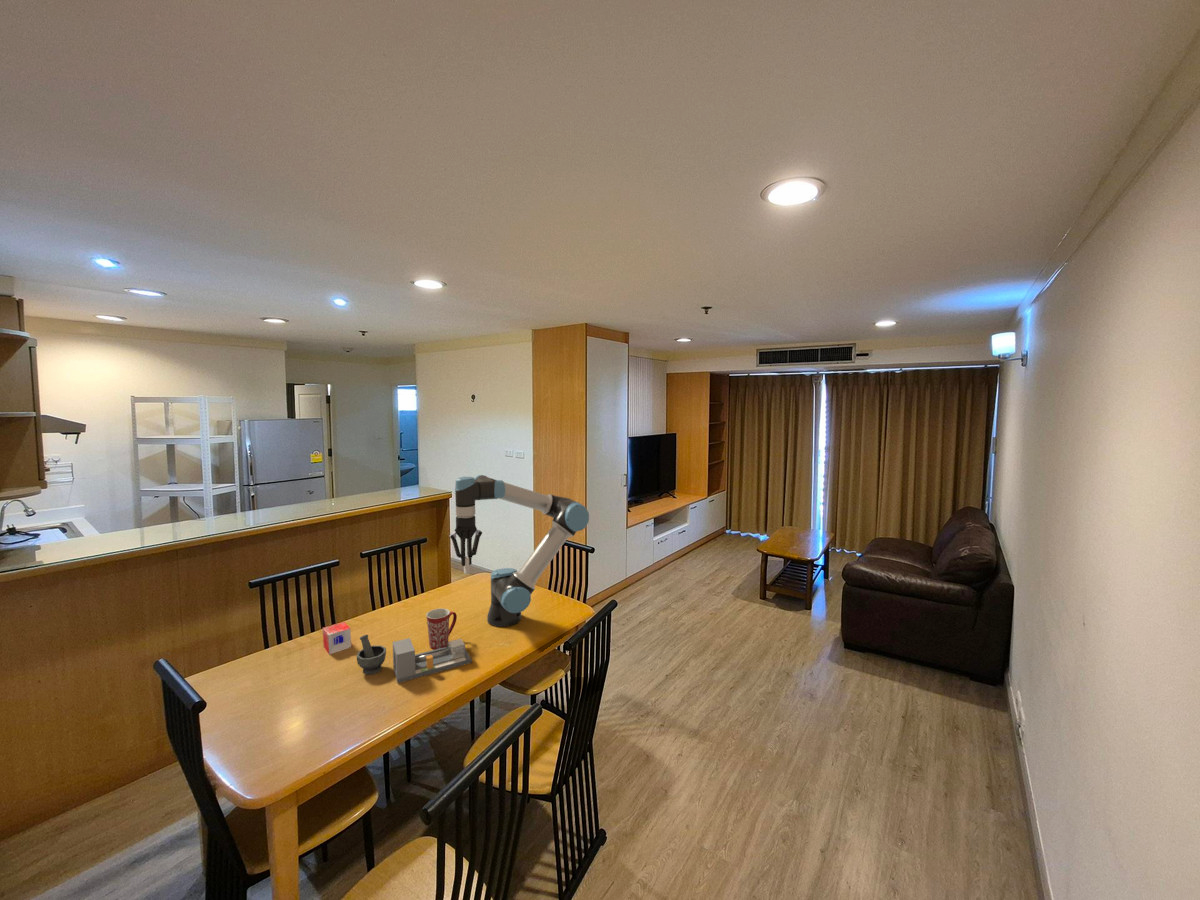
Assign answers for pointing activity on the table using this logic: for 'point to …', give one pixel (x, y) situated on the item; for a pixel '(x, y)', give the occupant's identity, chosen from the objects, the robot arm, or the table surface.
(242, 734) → the table surface
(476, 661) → the table surface
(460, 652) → the grey block with bar
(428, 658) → the tangerine cube
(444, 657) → the bench
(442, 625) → the mug
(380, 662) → the mortar and pestle
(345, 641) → the toy block
